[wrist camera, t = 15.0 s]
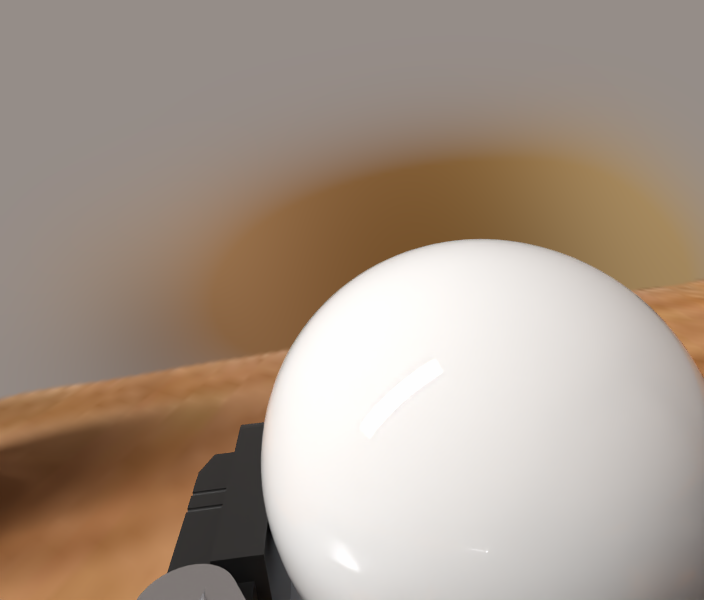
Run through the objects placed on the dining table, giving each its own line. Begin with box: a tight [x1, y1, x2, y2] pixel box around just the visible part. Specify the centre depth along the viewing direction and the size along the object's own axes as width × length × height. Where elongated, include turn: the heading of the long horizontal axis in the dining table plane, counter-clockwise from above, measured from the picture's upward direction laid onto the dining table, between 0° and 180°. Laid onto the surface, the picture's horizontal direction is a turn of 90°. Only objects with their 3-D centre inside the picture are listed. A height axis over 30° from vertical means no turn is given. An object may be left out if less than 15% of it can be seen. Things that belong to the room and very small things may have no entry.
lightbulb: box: [261, 239, 704, 600], centre depth 9 cm, size 6×6×11 cm
